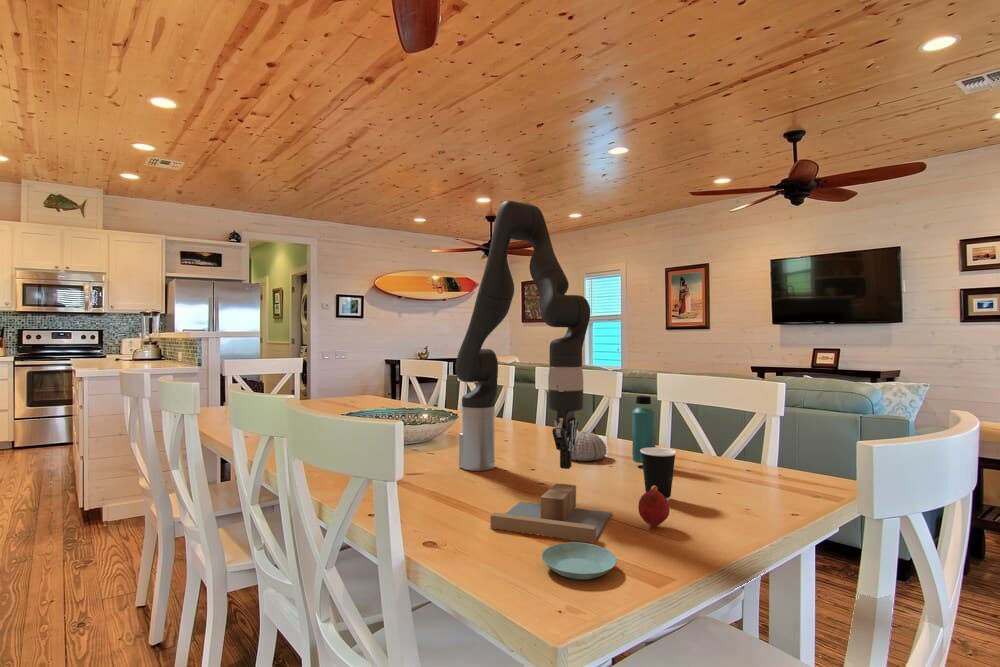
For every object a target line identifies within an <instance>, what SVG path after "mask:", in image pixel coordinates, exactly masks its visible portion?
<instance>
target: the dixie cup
mask: <svg viewBox="0 0 1000 667" xmlns="http://www.w3.org/2000/svg"><path fill="white" fill-rule="evenodd" d="M640 452H641V453H642V462H643V463H642V468H643V469H642V470H643V481H644V488H645V489H644V491H645V493H646V492H648V491H649V490H650V489H651V487H652V486H656V487H658V489H657V490H658V491H659V492H660V493H661V494H663V495H664V497H665V498H666V499H667V501H668V502H670V498H671V496H672V495H671V494H672V487H673V478H674V471H675V469H674V468H675V460H676V455H677V451H676V450H674V449H671V448H666V447H665V448H664V447H655V448H643V449H641V450H640Z"/></svg>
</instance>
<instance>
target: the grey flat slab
mask: <svg viewBox="0 0 1000 667" xmlns="http://www.w3.org/2000/svg"><path fill="white" fill-rule="evenodd" d="M611 515H612V512H609V511H601V510H594V509H587V508H586V509H585V508H576V507H575V508H574V509H573V511H572V512H571V513H570V514H569V515H568V517H567V518H566V519H565V520H564V521H556V520H549V519H541V503H538V502H537V503H536V502H527V501H519V502H517V503H516V505H514V506H513V507H512V508H511V509H510V510H509V511H507V512H505V513H501V512H493V513H492V514H491V515H490V529H491V530H497V529H499V530H500V531H504V530H507V531H506V532H511V531H515V532H514V533H518V532H523V533H522V534H525V533H531V534H530V535H532V534H539V535H544V536H543V537H546V536H551V537H550V538H553V537H557V538H556V539H560V538H563V539H562V540H567V539H569V540H568V541H574V540H576V541H575V542H581V541H583V542H582V543H588V542H591V543H590V544H595V542H596V540H597V539H598V537H599V536H600V535H601V532H602V531H603V529H604V527H605V526H606V524H607V522H608V520H609V519H610V517H611ZM499 530H498V531H499ZM539 535H538V536H539Z"/></svg>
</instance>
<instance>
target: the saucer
mask: <svg viewBox="0 0 1000 667" xmlns="http://www.w3.org/2000/svg"><path fill="white" fill-rule="evenodd" d="M541 560H542V561H543V563H545V565H546V566H547V567H548V568H550V569H551V570H552V571H553V572H554V573H557V574H558V575H560V576H562V577H564V578H568V579H571V580H580V581H583V580H584V581H586V580H593V579H596V578H599V577H601V576H603V575H605V574H607V573H609V571H610V570H612V569H613V568H614V567H615V566H616V565H617V561H618V560H617V557H616V555H615V554H614V553H613V552H612V551H611V550H608V549H607V548H605V547H603V546H599V545H596V544H594V543H588V542H578V541H575V542H572V541H571V542H563V543H562V542H560V543H557V544H553V545H550V546H547V548H545V549H544V550H543V551H542V553H541Z"/></svg>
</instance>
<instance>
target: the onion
mask: <svg viewBox="0 0 1000 667" xmlns="http://www.w3.org/2000/svg"><path fill="white" fill-rule="evenodd" d="M657 489H658V487H656V486H652V487H651V489H650V490H649V491H648V492H646V491H645V492H644V494H642V496H640V498H639V501H638V508H637V509H638V514H639V515H640V518H641V519H642V520H643V521H644V522H645V523H646V524H647V525H649V526H650V527H651V528H657V527H658V526H660V525H661V524H662V523H664V522H665V521H666V520H667V519H668V517H669V515H670V510H671V509H670V505H669V501H667V499H666V498H665V497H664V495H663V494H661V493H660V492H659V491H658V490H657Z"/></svg>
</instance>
